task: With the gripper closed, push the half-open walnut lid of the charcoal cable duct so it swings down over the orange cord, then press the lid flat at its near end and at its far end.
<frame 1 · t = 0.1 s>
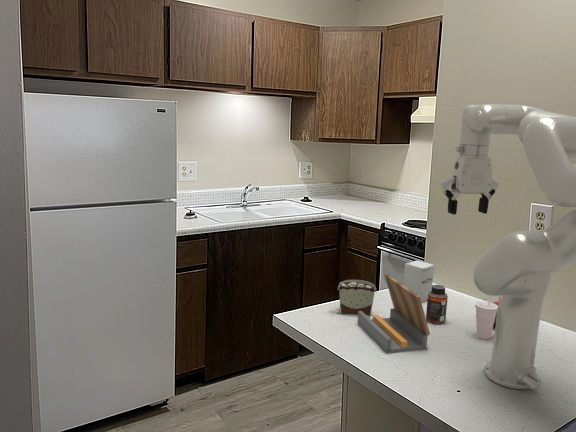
hand: (467, 213, 143), 37 cm above the countertop, tool pointing down, fingers open, 9 cm apart
smoothie: (483, 336, 151), on the countertop
supplement box: (416, 299, 180), on the countertop
supplement bottle: (435, 321, 161), on the countertop
cable duct: (390, 335, 149), on the countertop
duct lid: (406, 302, 148), point 10 cm above the countertop, hinge at 70.0°
fruit: (501, 327, 158), on the countertop
food container: (355, 312, 166), on the countertop
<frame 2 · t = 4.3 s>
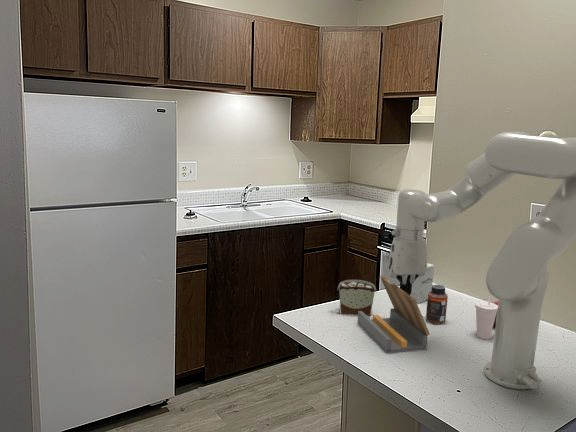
hand: (405, 295, 148), 12 cm above the countertop, tool pointing down, fingers closed
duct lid: (403, 303, 148), point 10 cm above the countertop, hinge at 62.6°, touching cable duct, gripper
everything else where it was.
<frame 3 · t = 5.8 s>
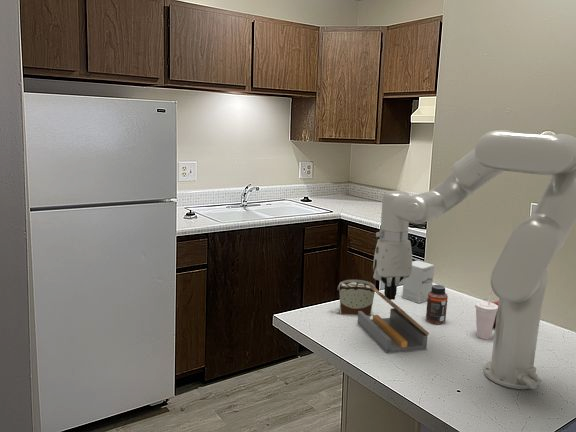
hand: (390, 298, 146), 12 cm above the countertop, tool pointing down, fingers closed
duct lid: (397, 308, 148), point 8 cm above the countertop, hinge at 40.8°, touching cable duct, gripper
everything else where it was.
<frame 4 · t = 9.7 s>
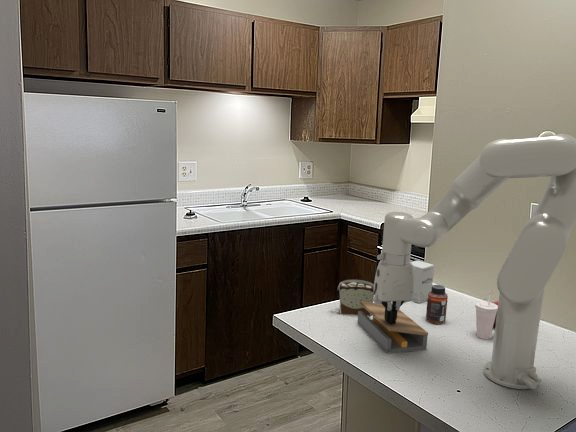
hand: (390, 322, 141), 7 cm above the countertop, tool pointing down, fingers closed
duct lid: (392, 317, 148), point 6 cm above the countertop, hinge at 12.0°, touching cable duct, gripper
everything else where it was.
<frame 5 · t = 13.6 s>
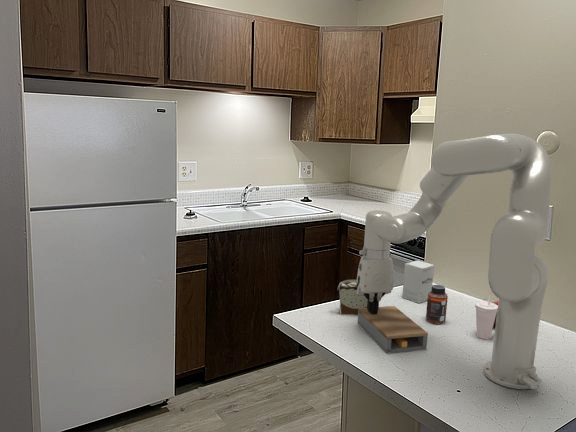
hand: (372, 312, 153), 5 cm above the countertop, tool pointing down, fingers closed
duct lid: (391, 321, 148), point 4 cm above the countertop, hinge at 0.9°, touching cable duct, gripper
everything else where it was.
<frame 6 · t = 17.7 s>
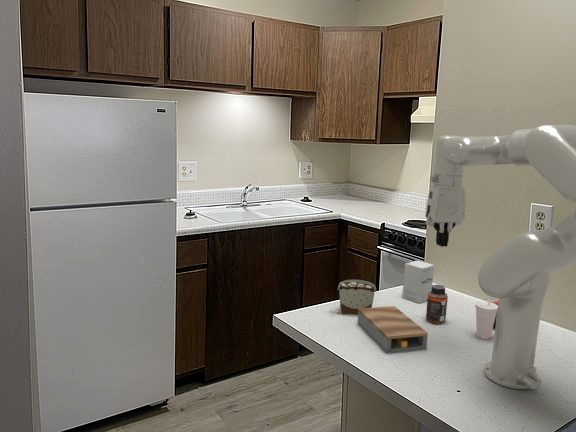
hand: (441, 245, 145), 27 cm above the countertop, tool pointing down, fingers closed
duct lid: (391, 321, 148), point 4 cm above the countertop, hinge at 0.5°
everything else where it was.
at the end: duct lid at +0° (first picture: +70°); the gripper is holding nothing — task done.
